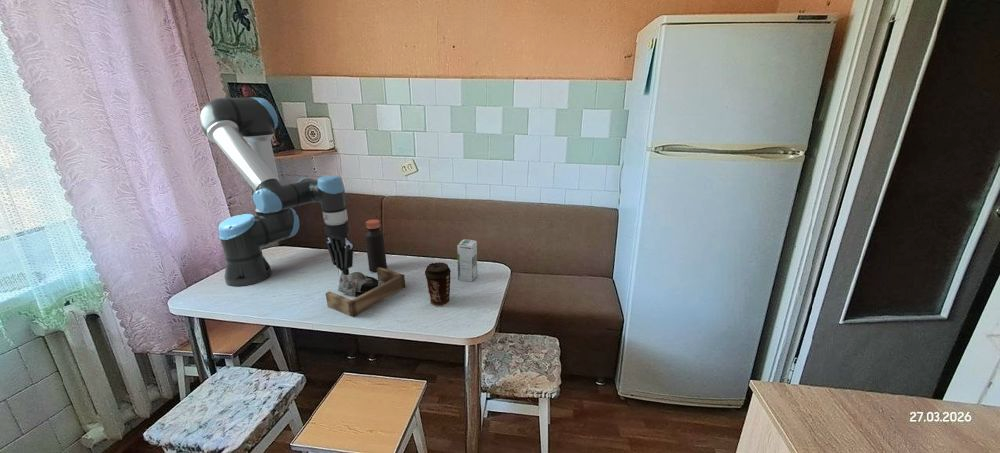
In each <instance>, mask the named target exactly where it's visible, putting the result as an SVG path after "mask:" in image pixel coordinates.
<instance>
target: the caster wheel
mask: <svg viewBox="0 0 1000 453" xmlns="http://www.w3.org/2000/svg"><path fill="white" fill-rule="evenodd" d="M379 285H380V281H378V278H375V277H373V276H368V275H365V274H364V273H362V272H359V271H355V272H350V273H349V274H348V275H344V274H341V275H340V276H339V283H338V289H337V291H338V292H340V293H342V294H345V295H348V296H351V297H353V298H356V297H355V296H356V293H366V292H368V291H370V290H372V289H374V288H375V287H377V286H379Z"/></svg>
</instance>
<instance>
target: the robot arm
mask: <svg viewBox="0 0 1000 453" xmlns="http://www.w3.org/2000/svg"><path fill="white" fill-rule="evenodd" d="M199 122H200V127H201V129H202V132H203V133H204V135H205V136H206V138H207V139H208V140H209V141H210V142H212V143H215V144H216V145H217V146H218V147H219V149H220V150H221V151H222V152H223V153H224V155H225V156H226V157H227V159H228V160H229V161H230V163H232V165H233V166H234V167H235V169H237V171H238V172H239V174H240V175H241V176H242V177H243V179H245V181H246V182H247V183H248V185H249V186H250V188H252V190H253V191H254V192H253V195H252V199H253V200H252V201H253V203H254V205H255V210H254V211H255V216H254V215H253V214H251V213H243V214H237V215H233V216H230V217H228V218H226V219H224V220H223V221H221V222H220V224H219V225H218V234H219V236H218V237H219V240H220V242H221V246H222V249H223V255H224V258H225V261H226V263H225V271H224V276H223V277H224V281H225V284H226V285H228V286H232V287H242V286H249V285H253V284H256V283H259V282H262V281H264V280H266V279H268V278H270V276H271V275H272V273H273V271H272V266H271V264H269V262H268V261H267V259H266V258H265V256H264V254H263V250H262V247H265V246H267V245H271V244H274V243H277V242H280V241H284V240H287V239H289V238H292V237H294V236H295V235H296V234H297V233H298V231H299V229H300V219H299V215H298V214H297V211H296V210H295V209H293V208H295V207H298V206H302V205H306V204H310V203H317V204H320V206H321V213H322V218H323V223H324V231H325V235H327V236H328V237H327V238H325V239H324V242H325V244H326V247H327V250H328V252H329V256H330V260H331V262H332V265H333V266H336V268H337V270H338V275H339V277H340V275H341V274H344V275H348V274H350V271H349V269H350V268H352V267H353V264H354V263H353V260H354V248H355V243H353V242H352V243H351V242H350V240H349V236H348V233H349V232H350V226H349V221H348V220H349V218H348V212H347V211H348V210H347V204H346V203H347V202H346V197H345V187H344V184H343V179H342V177H340V175H324V176H323V175H322V176H320V177H318V178H317V179H315V178H311V177H308V178H307V177H306V178H305V177H303V178H300V179H298V180H297V181H296V182H291V183H287V184H282V183H281V182H280V179H279V172H278V169H277V165H276V160H275V155H274V151H273V145H272V141H271V139H272V138H273V137H274V136H275V134H274V130H276V129H277V127H278V126H279V124H278V123H279V119H278V115H277V112H276V110H275V108H274V106H273V105H272V104H271V103H270V101H268V100H267V99H265V98H263V97H254V96H253V97H251V96H250V97H218V98H214V99H211V100H209V101H208V102H207V103H206V104H205V105H204V107H203V108H202V110H201V112H200V116H199Z"/></svg>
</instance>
